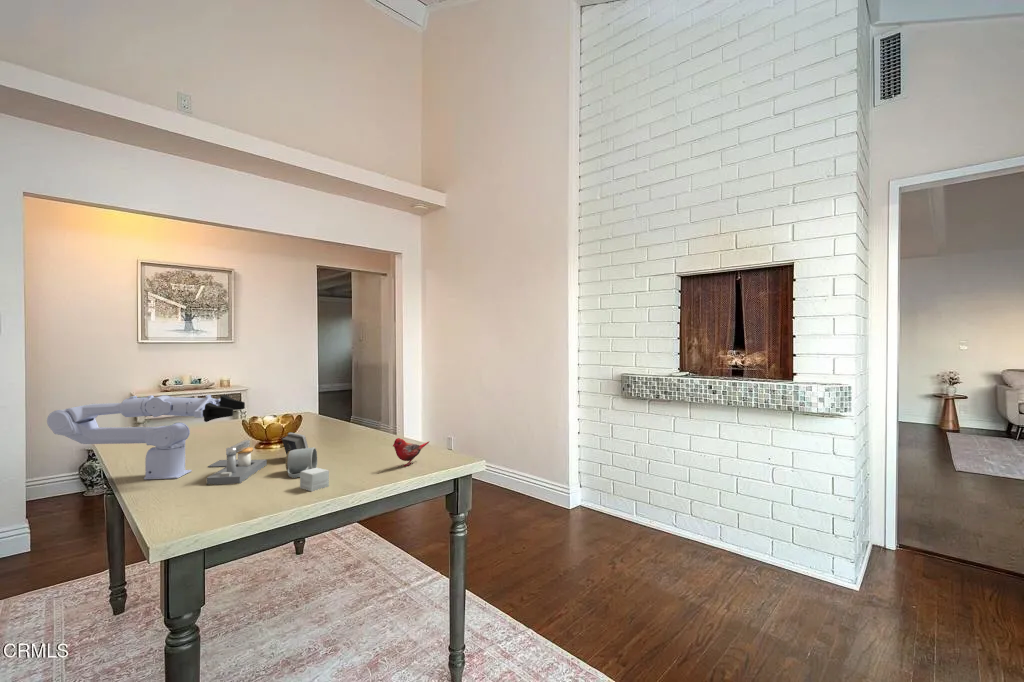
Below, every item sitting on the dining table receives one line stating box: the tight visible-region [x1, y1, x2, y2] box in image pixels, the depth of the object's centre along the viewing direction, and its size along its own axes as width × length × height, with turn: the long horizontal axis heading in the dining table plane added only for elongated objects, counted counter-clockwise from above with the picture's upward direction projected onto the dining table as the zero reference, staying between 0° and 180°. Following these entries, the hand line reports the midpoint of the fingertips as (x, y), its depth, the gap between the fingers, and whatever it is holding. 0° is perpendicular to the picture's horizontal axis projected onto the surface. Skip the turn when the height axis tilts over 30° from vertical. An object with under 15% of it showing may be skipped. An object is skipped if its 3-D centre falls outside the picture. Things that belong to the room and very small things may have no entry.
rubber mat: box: [207, 459, 238, 468], centre depth 158 cm, size 8×8×1 cm
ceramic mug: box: [285, 446, 318, 479], centre depth 147 cm, size 11×8×8 cm
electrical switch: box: [281, 432, 309, 456], centre depth 165 cm, size 9×5×9 cm, turn 57°
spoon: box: [225, 439, 251, 457], centre depth 146 cm, size 3×12×2 cm, turn 7°
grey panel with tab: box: [206, 454, 268, 485], centre depth 146 cm, size 9×20×7 cm, turn 7°
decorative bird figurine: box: [392, 437, 430, 467], centre depth 159 cm, size 3×18×10 cm, turn 148°
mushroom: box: [237, 446, 254, 467], centre depth 150 cm, size 5×5×7 cm
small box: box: [299, 467, 330, 492], centre depth 134 cm, size 6×6×5 cm
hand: (238, 408), depth 147 cm, fingers open, 7 cm apart
